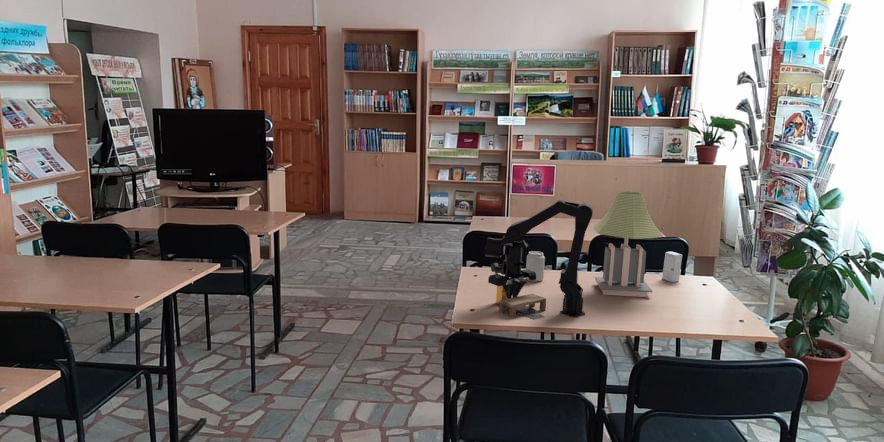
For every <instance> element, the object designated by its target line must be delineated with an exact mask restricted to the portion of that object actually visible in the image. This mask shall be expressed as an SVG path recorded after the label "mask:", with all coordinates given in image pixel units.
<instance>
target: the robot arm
mask: <svg viewBox="0 0 884 442" xmlns="http://www.w3.org/2000/svg"><path fill="white" fill-rule="evenodd" d="M593 209H594V208H593V207H592V205H590V203H586V202H582V203H577V202H570V201H566V200H563V199H558V200H557V201H556V202H555V203H553V204H551V205H549V206H548V207H546V208H544V209H542V210H541V211H538V212H537V213H535V214H533V215H531V216H530V217H528V218H526V219H522V220H519V221H516V222H514V223H512V224H510V226H509V227H507V228H506V232H505V234H506V235H504V236H503V237H502V238H493V237H487V238H486V244H485V247H484V256H485V257H491V258H502V256H504V255H505V259H504V260H502V263H500V264H499V263H498V262H492V263H490V264H491V265H490V271H491V273H494V274H490V275H489V276H488V281H487V282H488V284H491V285H494V286H496V287H497V286H503V287H504V290H505V293H506V296H507V299H508V298H513V297H518V296H519V294H520V292H521V290H522V289H523V287H524V286H525V285H526V284H527V283H528V282H527V281H525V279H526V278H527V277H528V278H529V280H536V273H535V272H534V271H531V270H527V269H526V268H524V269H522V266H524V261H522V260H523V259H522V257H523V249H527V248H528V247H529V244H528V243H527V242H526V241H525V240H524V239H522V238H524V237H525V236H526V235H527V234H528V233H529V232H530V231H531V230H532V229H534V228H536V227H538V226H539V225H541V224H543V223H545V222H546V221H548V220H549V219H552V218H553V217H555V216H557V215H558V214H564V215H567V216H569V217H573V218H574V234H573V239H572V243H571V247H570V253H569V256H568V262H567V266H566V268H565V269H563V268H562V269H561V272H560V278H559V279H558V282H557V283H558V285H559V289H560V290H561V292H562V293H563V300H562V309H561V310H560V311H559V313H561V314H563V315H567V316H569V317H572V318H573V317H578V316H582V315H586V312H584V311H583V308H584V304H583V303H584V298H583V297H582V296H583V291H584V289H583V287H582V286H581V285H580V284H579V283H578V276H579V272H578V269H579V268H578V267H579V263H580V258H581V253H582V248H583V245H584V244H583V243H584V241H585V240H584V239H585V235H586V231H587V229H588V226H589V225H590V222H591V220H592V218H593V214H594V210H593ZM521 239H522V240H521ZM519 240H521V241H519ZM510 242H511V243H510ZM529 280H528V281H529Z"/></svg>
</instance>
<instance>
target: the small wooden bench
mask: <svg viewBox="0 0 884 442" xmlns="http://www.w3.org/2000/svg"><path fill="white" fill-rule="evenodd" d="M538 303H539V311H541V312H545V311H546V309H547V306H546V305H547V298H546V297H543V296H540V295H538V294H535V293H529V294H524V295H518V296H517V297H513V298H508V299H503V300H500V304H499V306H498V307H499V309H498V312H499V313H500V314H505V313H506V308H505V305H506V306H509V307H510V310H509V317H510V318H512V319H514V318H516V316H517V313H516V307H521V306H528V307H530V308H534V307H535V306H536V304H538Z"/></svg>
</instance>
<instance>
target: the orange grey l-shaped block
mask: <svg viewBox="0 0 884 442" xmlns="http://www.w3.org/2000/svg"><path fill="white" fill-rule="evenodd" d="M503 299H507V296H506V293H505V290H504V287H503V286H496V299H495V300H496V302H495V303H496V304H497V306H498V307H499V304H500V300H503ZM505 310H509V311H510V307H509V306H506V305H505ZM532 312H536V309H535V308H534V307H530V306H529V305H525V306H521V307H516V314H518V315H520V316H522V317H523V316H524V314H527V313H532ZM536 313H537V312H536Z"/></svg>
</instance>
